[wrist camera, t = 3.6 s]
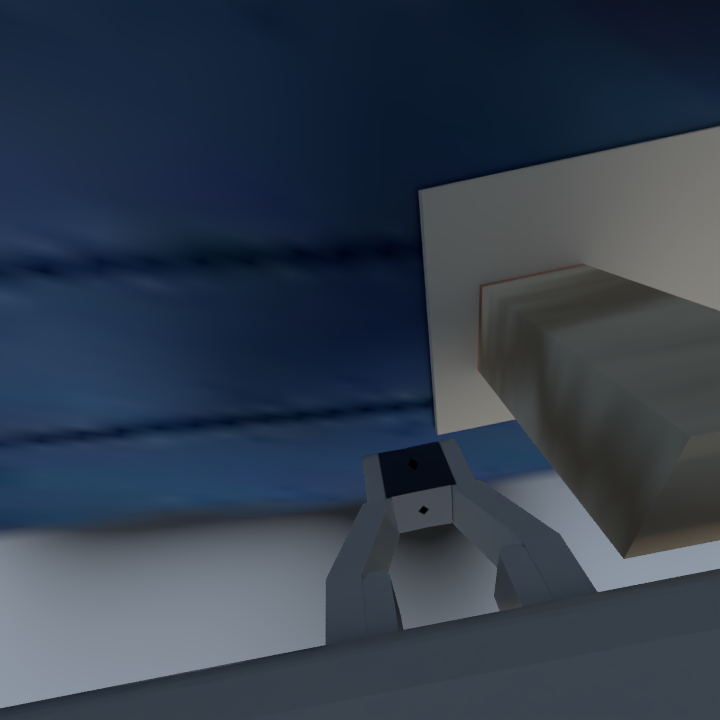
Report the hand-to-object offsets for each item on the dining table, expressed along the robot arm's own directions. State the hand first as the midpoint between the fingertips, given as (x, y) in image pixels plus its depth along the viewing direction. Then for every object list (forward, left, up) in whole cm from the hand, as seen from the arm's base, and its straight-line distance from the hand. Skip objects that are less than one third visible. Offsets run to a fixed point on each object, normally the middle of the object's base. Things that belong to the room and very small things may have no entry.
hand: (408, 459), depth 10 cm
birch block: (0, +8, -7) cm, 11 cm away
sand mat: (0, +13, -8) cm, 15 cm away
